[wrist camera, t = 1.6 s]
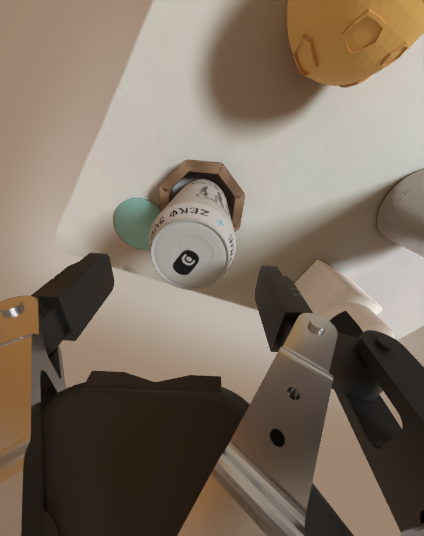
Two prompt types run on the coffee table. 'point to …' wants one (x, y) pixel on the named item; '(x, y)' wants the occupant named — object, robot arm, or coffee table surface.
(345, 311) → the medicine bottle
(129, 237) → the coaster
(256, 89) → the coffee table surface
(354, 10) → the stress ball
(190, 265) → the energy drink can
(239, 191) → the collar
